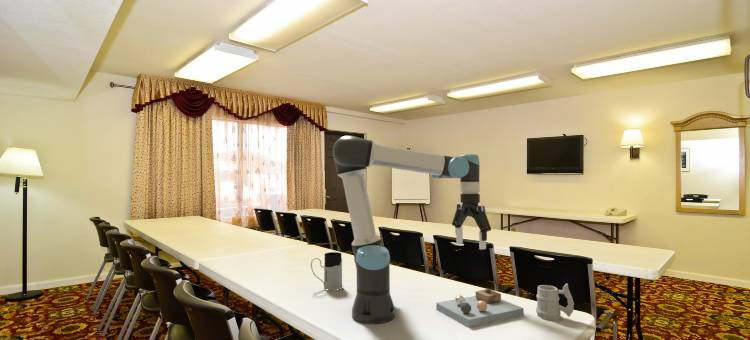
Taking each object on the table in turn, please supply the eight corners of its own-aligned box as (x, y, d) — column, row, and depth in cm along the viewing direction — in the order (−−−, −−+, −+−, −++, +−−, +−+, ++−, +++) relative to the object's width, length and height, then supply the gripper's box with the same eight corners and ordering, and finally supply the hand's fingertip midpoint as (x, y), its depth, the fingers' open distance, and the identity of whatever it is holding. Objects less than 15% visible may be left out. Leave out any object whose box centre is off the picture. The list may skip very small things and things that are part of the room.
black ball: (465, 315, 120) (464, 305, 120) (458, 312, 123) (458, 301, 124) (473, 314, 122) (473, 303, 122) (466, 310, 125) (466, 300, 125)
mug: (537, 311, 131) (536, 277, 131) (574, 316, 125) (573, 281, 125) (534, 318, 124) (534, 282, 125) (574, 324, 118) (573, 287, 119)
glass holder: (345, 289, 159) (345, 254, 159) (313, 293, 154) (313, 257, 154) (339, 284, 167) (339, 251, 167) (309, 287, 162) (308, 253, 162)
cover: (487, 303, 131) (487, 292, 132) (475, 298, 137) (475, 288, 137) (501, 300, 134) (500, 290, 134) (488, 295, 140) (488, 285, 140)
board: (468, 327, 117) (468, 319, 117) (436, 309, 133) (436, 302, 133) (523, 315, 127) (523, 308, 127) (487, 300, 143) (487, 293, 143)
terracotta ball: (481, 313, 122) (481, 303, 122) (474, 310, 125) (474, 300, 125) (489, 312, 123) (489, 301, 123) (482, 308, 127) (482, 298, 127)
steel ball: (459, 307, 128) (458, 297, 128) (453, 304, 131) (452, 294, 131) (467, 306, 129) (466, 296, 129) (460, 303, 133) (460, 293, 133)
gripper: (500, 193, 137) (501, 250, 136) (457, 191, 159) (457, 240, 158) (485, 194, 133) (485, 252, 133) (443, 192, 156) (443, 242, 155)
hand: (470, 246), depth 145 cm, fingers open, 13 cm apart
